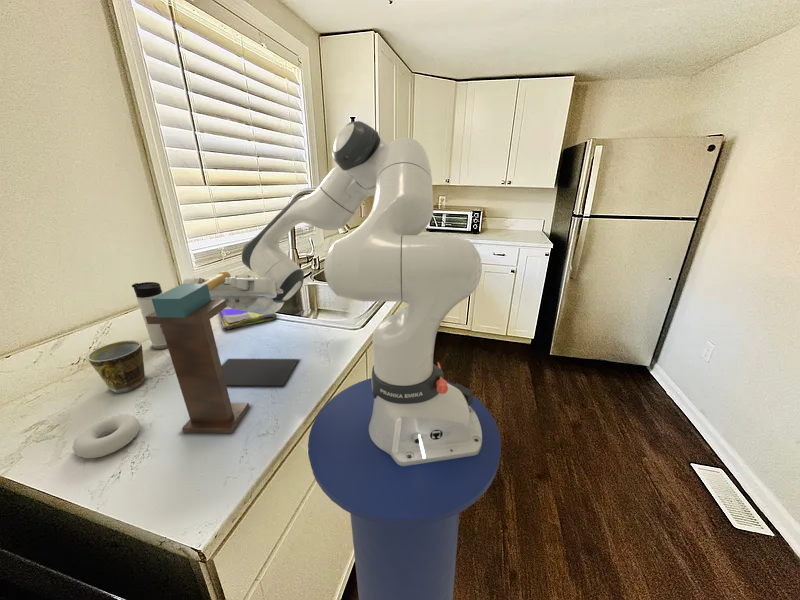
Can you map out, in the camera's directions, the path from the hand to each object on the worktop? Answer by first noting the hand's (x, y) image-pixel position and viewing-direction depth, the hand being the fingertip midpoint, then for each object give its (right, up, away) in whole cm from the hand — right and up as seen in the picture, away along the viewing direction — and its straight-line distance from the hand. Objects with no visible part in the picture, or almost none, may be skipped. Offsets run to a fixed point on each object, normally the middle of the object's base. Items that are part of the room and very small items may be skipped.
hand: (211, 281), depth 67 cm
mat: (+1, -23, +18) cm, 30 cm away
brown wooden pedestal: (0, -30, +2) cm, 30 cm away
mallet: (0, -3, -2) cm, 4 cm away
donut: (-18, -32, -3) cm, 37 cm away
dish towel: (-18, -9, +54) cm, 58 cm away
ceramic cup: (-29, -26, +13) cm, 41 cm away
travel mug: (-34, -18, +34) cm, 51 cm away
